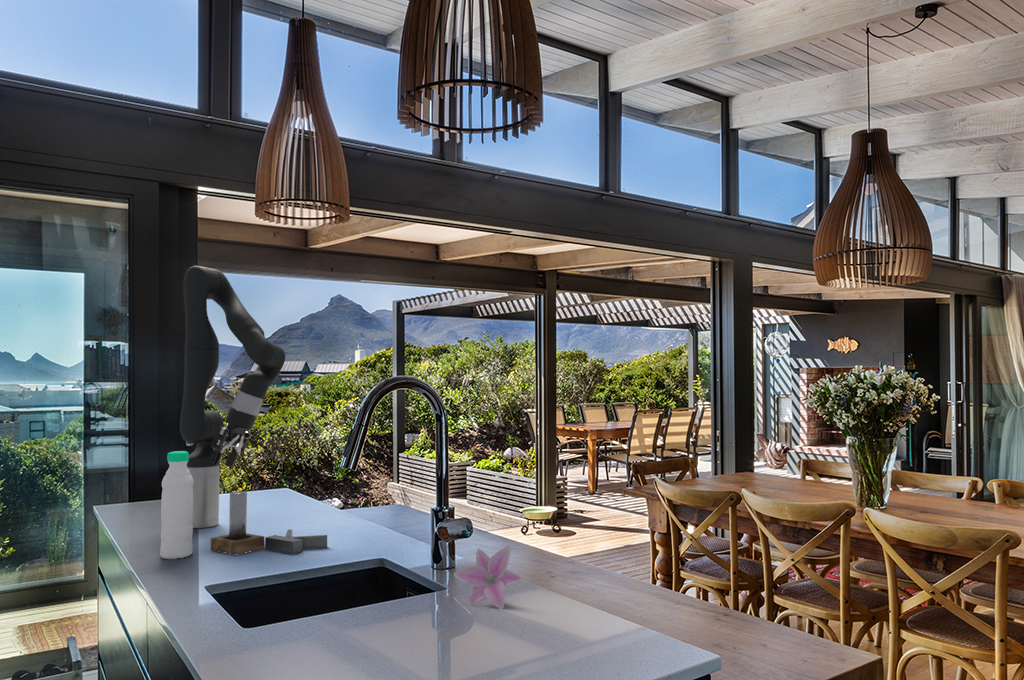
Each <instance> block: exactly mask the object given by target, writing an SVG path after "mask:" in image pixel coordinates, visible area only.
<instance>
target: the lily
mask: <svg viewBox="0 0 1024 680" xmlns="http://www.w3.org/2000/svg"><path fill="white" fill-rule="evenodd" d="M511 552H512V546H511V545H508V546H504V548H501V549H499V550H498V551H497V552H495V553H494V554H492V556H489V555H488V554H486V552H485V551H483V550H482V549H480V548H477V549H476V552H475V553H476V555H475V565H469V566H466V567H464V568H461V569H459V570H457V571H455V572H454V573H453V576H454V577H455V579H458V580H459V581H462V582H463V583H465V584H466V585H469V586H471V587H472V588H471V591H470V594H469V597H468V606H473V605H474V604H475V603H477V602H478V601H480V600H481V599H483V598H484V597H486V599H487V600H489V602H490V603H491V604H492V605H493V606H495V607H496V608H498V609H499V610H504V606H505V588H506V587H505V586H509V585H512V584H514V583H515V584H516V583H518V582H520V581H522V579H523V578H522V576H520V575H518V574H516V573H515V572H513V571H510V570H508V565H509V561H510V558H511V557H510V556H511Z"/></svg>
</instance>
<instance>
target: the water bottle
mask: <svg viewBox="0 0 1024 680" xmlns="http://www.w3.org/2000/svg"><path fill="white" fill-rule="evenodd" d="M189 455H190V454H189V452H188V451H187V450H179V451H178V450H175V451H170V452H168V453H167V456H166V457H167V458H166V460H167V463H168V465H169V466H168V469H167V470H166V472H165V475H163V478H162V481H161V488H162V491H161V499H160V500H161V503H160V504H161V505H160V507H161V508H160V518H161V520H160V521H161V528H160V540H161V541H160V549H159V550H160V551H159V553H160V554H159V555H160V558H161V559H165V560H178V559H177V558H180V559H184V557H185V558H187V557H190V556H191V555H192V553H193V532H194V528H193V527H192V519H193V487H192V486H193V484H194V480H193V477H192V476H191V474H190V471H189V469H188V468H187V463H188V460H189Z"/></svg>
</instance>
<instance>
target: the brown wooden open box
mask: <svg viewBox="0 0 1024 680" xmlns="http://www.w3.org/2000/svg"><path fill="white" fill-rule="evenodd" d="M263 549H264V550H265V536H264V535H258V534H251V533H246V538H245V539H240V540H236V541H235V540H229V533H228V534H222V535H219V536H216V537H211V538H210V551H212V550H214V551H213V552H217V551H220V552H219V553H222V552H226V553H225V554H228V553H231V554H230V555H233V554H240V555H242V554H241V553H244V554H246V553H245V552H248V553H250V552H249V551H252V552H255V551H254V550H256V551H260V550H263Z"/></svg>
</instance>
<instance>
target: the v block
mask: <svg viewBox="0 0 1024 680" xmlns="http://www.w3.org/2000/svg"><path fill="white" fill-rule="evenodd" d="M315 548H317V549H327V548H328V534H320V535H319V534H317V535H316V534H315V535H301V536H300V535H299V536H297V535H296V536H293V529H287V531H286V533H285V536H283V535H277V534H274V535H270V536H269V535H268V536H264V550H266V551H271V550H272V551H273V552H277V551H279V552H278V553H283V552H284V553H283V554H288V553H290V554H289V555H295V554H299V553H303V551H304V550H313V549H314V550H315Z"/></svg>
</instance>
